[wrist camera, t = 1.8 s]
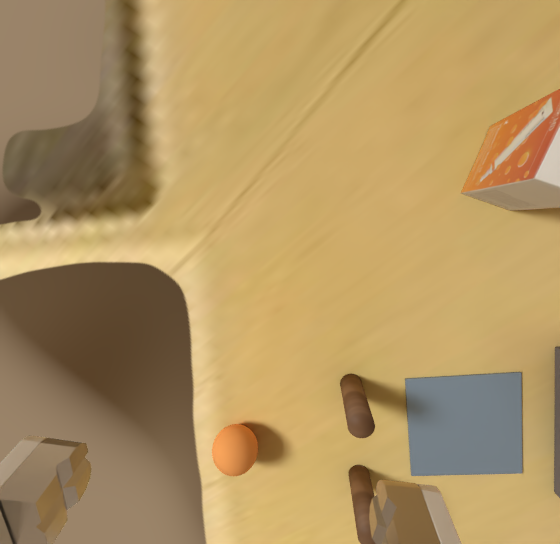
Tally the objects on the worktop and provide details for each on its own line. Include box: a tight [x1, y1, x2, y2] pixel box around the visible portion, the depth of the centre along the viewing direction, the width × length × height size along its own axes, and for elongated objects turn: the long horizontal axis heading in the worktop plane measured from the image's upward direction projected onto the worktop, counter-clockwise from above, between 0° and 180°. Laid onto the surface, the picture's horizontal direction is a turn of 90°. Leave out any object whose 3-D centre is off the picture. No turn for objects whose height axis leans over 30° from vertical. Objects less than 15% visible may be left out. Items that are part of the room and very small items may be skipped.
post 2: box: [349, 465, 376, 544], centre depth 40 cm, size 3×3×9 cm
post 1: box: [340, 374, 375, 438], centre depth 38 cm, size 3×3×9 cm
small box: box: [461, 89, 560, 210], centre depth 30 cm, size 8×6×13 cm
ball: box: [212, 424, 258, 476], centre depth 42 cm, size 6×6×6 cm
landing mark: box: [405, 372, 522, 476], centre depth 42 cm, size 14×14×1 cm
